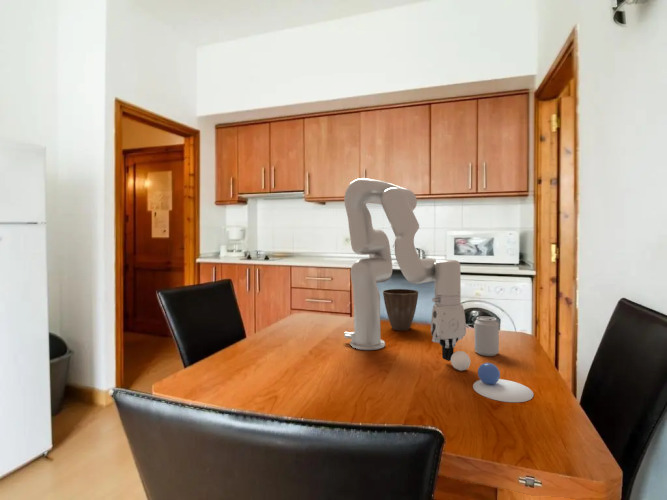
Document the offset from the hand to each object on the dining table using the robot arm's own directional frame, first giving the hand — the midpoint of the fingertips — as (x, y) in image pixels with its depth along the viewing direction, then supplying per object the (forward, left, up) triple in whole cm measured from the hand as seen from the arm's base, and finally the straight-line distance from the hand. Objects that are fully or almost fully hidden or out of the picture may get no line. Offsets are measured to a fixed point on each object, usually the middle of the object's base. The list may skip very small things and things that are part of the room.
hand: (447, 359), depth 114 cm
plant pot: (-23, +38, -2) cm, 45 cm away
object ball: (+12, -12, +1) cm, 17 cm away
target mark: (+15, -15, -2) cm, 21 cm away
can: (+11, +15, -2) cm, 19 cm away
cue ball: (+4, -4, +1) cm, 6 cm away
